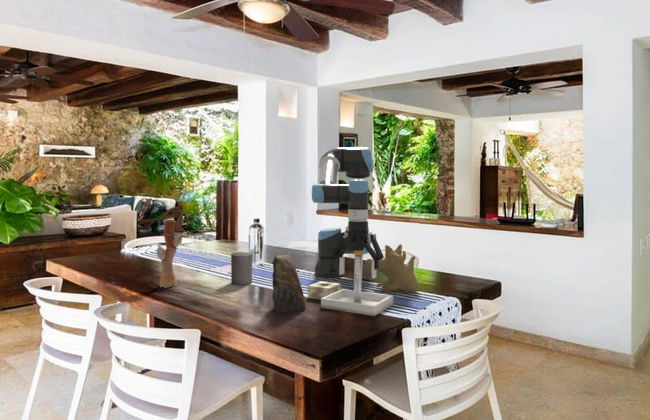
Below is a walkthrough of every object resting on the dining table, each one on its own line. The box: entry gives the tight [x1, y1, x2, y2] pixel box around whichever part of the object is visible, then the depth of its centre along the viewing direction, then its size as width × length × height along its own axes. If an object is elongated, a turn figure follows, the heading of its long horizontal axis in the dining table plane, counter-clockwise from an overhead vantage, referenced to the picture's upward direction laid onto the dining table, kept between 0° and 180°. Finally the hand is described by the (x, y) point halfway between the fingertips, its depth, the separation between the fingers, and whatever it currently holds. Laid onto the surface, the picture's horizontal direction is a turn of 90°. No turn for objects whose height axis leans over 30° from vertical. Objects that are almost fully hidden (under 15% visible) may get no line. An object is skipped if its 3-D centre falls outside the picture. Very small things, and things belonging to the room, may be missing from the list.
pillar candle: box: [230, 250, 253, 286], centre depth 225 cm, size 10×10×15 cm
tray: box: [320, 288, 394, 317], centre depth 186 cm, size 22×18×4 cm
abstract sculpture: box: [156, 219, 183, 289], centre depth 217 cm, size 10×7×30 cm
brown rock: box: [271, 253, 307, 314], centre depth 183 cm, size 13×13×20 cm
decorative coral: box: [366, 243, 419, 293], centre depth 212 cm, size 26×22×25 cm
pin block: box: [307, 280, 342, 301], centre depth 200 cm, size 10×10×5 cm
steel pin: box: [353, 251, 365, 304], centre depth 185 cm, size 4×4×20 cm
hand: (357, 275), depth 185 cm, fingers open, 13 cm apart
